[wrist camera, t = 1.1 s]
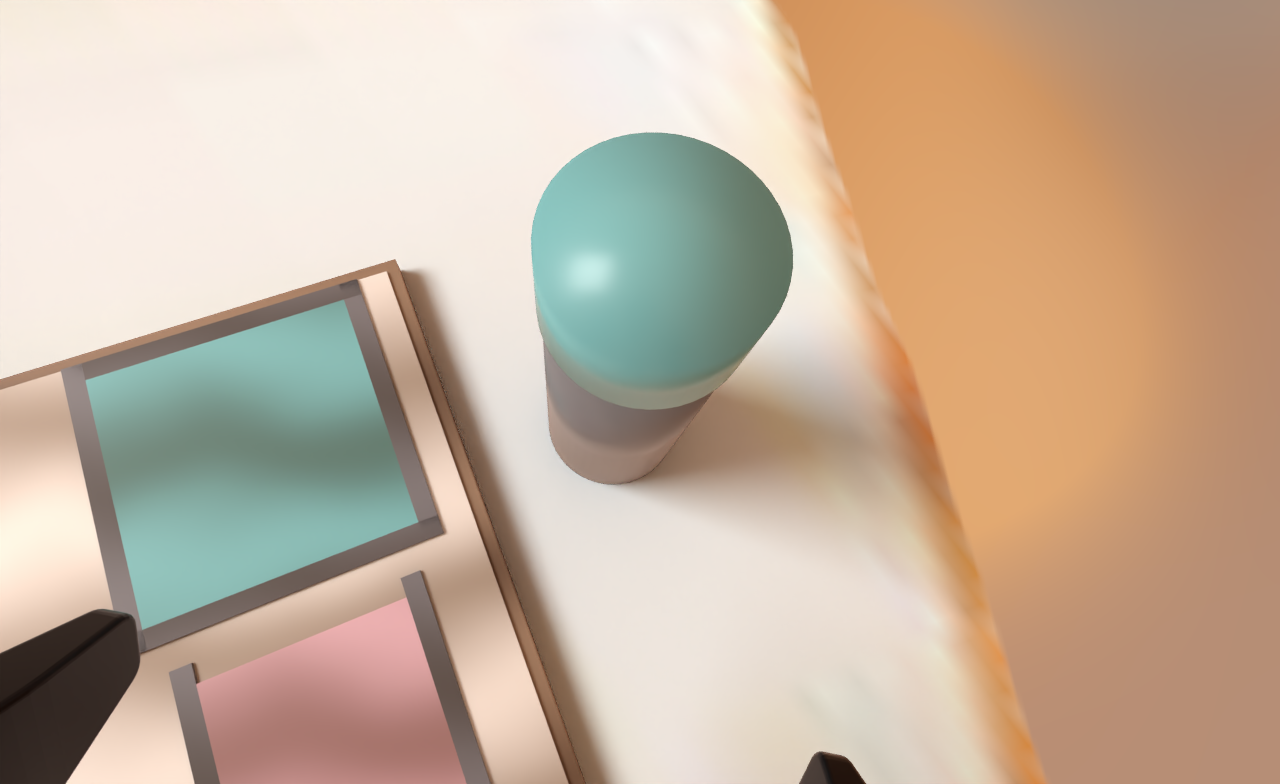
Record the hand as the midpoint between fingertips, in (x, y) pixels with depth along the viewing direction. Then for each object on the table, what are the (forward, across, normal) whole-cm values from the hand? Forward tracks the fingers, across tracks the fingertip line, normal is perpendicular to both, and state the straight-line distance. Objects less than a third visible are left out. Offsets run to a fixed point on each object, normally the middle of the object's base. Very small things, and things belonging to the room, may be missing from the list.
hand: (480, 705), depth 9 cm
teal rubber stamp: (+15, -1, +3) cm, 15 cm away
